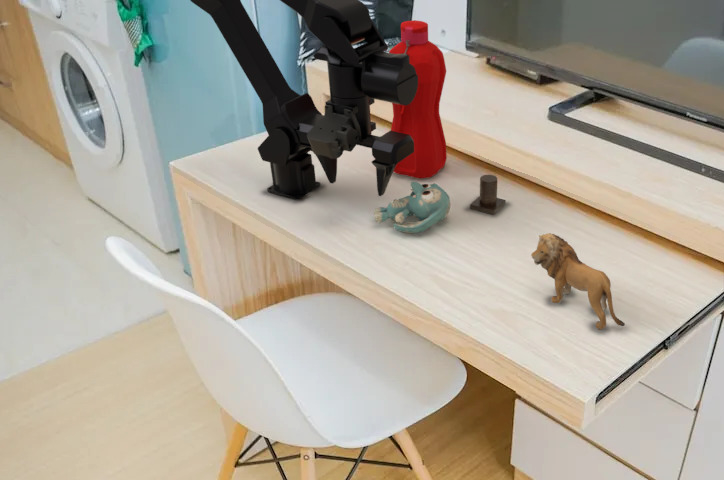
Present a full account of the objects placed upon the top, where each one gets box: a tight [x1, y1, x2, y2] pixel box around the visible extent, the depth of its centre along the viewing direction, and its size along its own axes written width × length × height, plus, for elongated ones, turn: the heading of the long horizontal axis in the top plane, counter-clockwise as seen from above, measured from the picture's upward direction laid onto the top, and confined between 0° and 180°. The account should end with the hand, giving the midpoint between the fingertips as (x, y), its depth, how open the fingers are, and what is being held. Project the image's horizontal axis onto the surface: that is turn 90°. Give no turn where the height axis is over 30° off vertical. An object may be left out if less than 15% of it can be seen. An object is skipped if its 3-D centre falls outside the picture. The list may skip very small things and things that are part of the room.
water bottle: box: [388, 19, 448, 180], centre depth 132 cm, size 9×11×25 cm
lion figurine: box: [530, 232, 626, 330], centre depth 103 cm, size 15×5×9 cm, turn 50°
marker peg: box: [469, 174, 507, 215], centre depth 128 cm, size 4×4×5 cm
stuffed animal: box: [373, 180, 451, 234], centre depth 122 cm, size 11×7×12 cm
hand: (356, 188), depth 126 cm, fingers open, 9 cm apart
